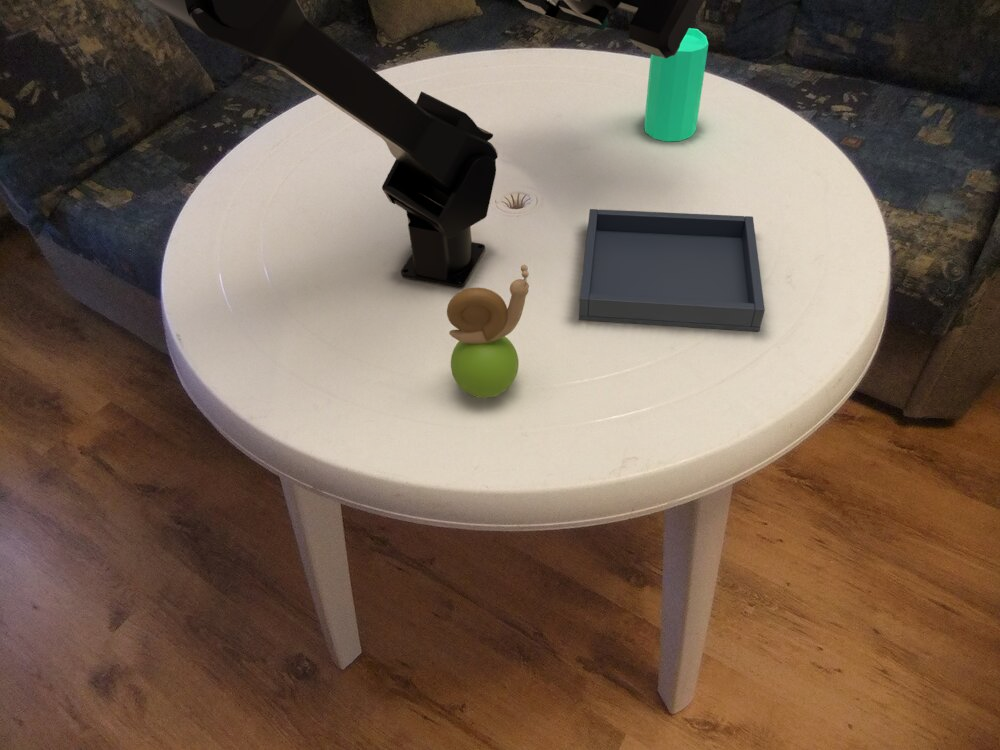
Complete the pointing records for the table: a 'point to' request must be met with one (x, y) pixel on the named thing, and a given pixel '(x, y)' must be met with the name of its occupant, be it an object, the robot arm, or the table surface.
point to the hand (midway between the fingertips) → (639, 37)
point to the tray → (671, 270)
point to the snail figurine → (485, 338)
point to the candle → (676, 90)
